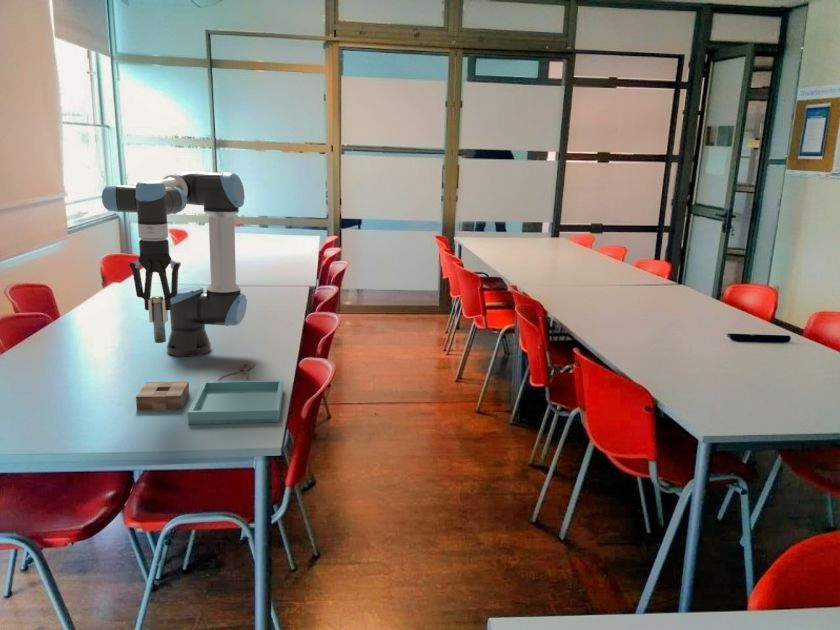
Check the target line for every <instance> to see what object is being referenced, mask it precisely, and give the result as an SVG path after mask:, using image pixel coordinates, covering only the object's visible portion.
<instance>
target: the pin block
mask: <svg viewBox="0 0 840 630" xmlns="http://www.w3.org/2000/svg"><path fill="white" fill-rule="evenodd" d="M189 395H190V381H188V380H187V381H186V380H185V381H147V382H145V384H144V385H143V387H142V388H141V389H140V391H139V392H138V393H137V395H136V396H135V400H136V401H135V402H136V411H145V410H146V411H148V410H149V411H151V410H153V411H156V410H161V411H162V410H182V408H183V407H184V404H185V402H186V401H187V399H188V398H189Z"/></svg>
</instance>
